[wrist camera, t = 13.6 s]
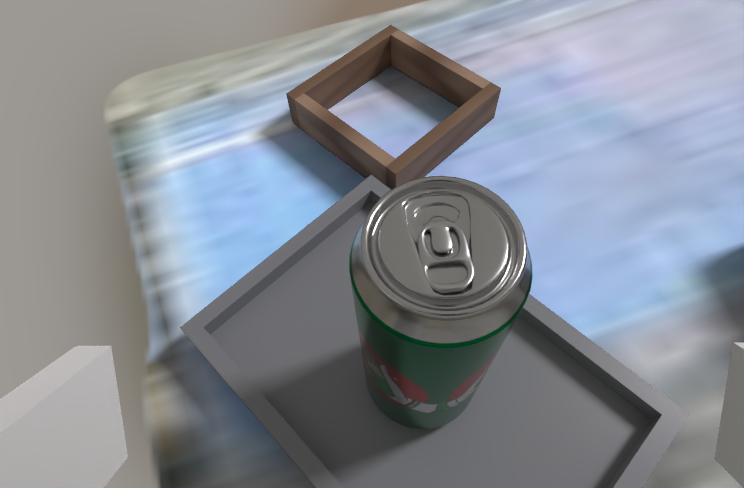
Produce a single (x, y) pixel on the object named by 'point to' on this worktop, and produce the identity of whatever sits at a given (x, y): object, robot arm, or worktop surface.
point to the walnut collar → (417, 63)
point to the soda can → (435, 294)
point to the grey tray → (409, 445)
